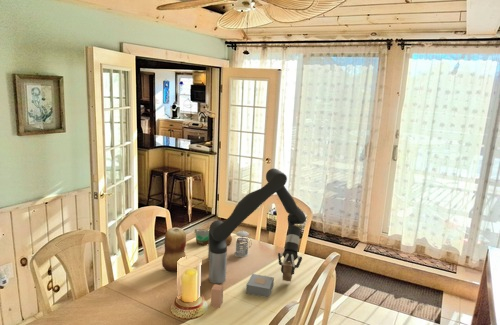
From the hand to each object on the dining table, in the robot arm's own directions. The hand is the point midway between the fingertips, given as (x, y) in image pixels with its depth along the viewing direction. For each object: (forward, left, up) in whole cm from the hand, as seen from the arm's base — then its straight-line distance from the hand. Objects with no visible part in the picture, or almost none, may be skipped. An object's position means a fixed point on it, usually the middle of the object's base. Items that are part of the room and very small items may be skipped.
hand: (287, 273), depth 193 cm
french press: (-43, -4, -7) cm, 44 cm away
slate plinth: (-2, -16, -7) cm, 17 cm away
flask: (-41, -24, -7) cm, 48 cm away
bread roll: (-66, -6, -7) cm, 67 cm away
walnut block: (-1, +1, -4) cm, 5 cm away
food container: (-68, -22, -7) cm, 72 cm away
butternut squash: (-41, -50, -7) cm, 65 cm away
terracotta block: (0, -42, -7) cm, 42 cm away
